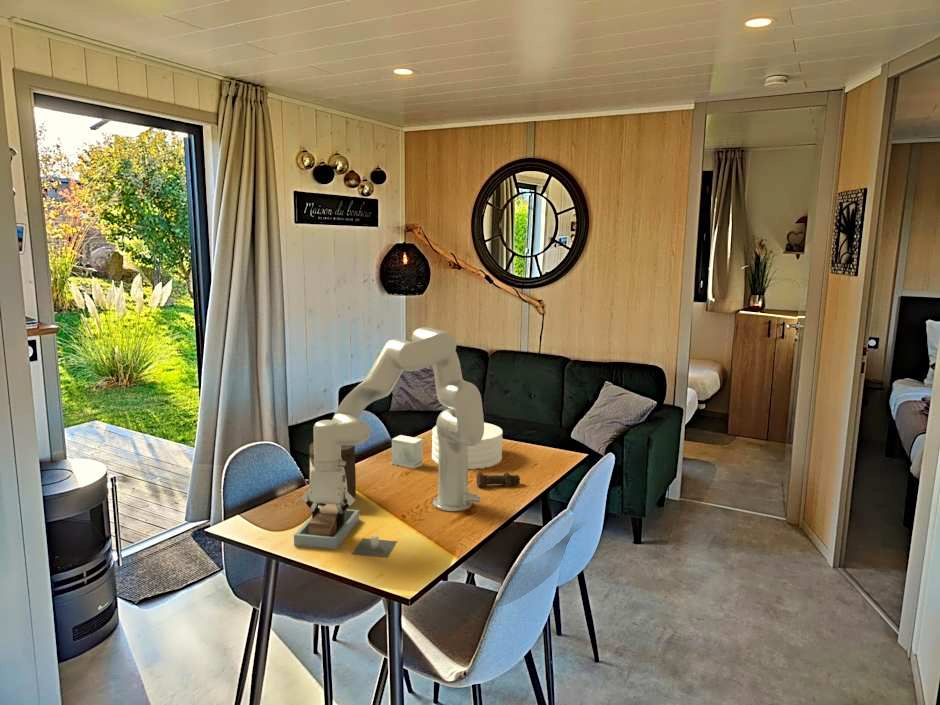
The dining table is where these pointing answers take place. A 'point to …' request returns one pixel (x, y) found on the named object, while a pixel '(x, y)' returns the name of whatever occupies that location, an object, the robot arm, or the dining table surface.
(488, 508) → the dining table surface
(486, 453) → the plate stack
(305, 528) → the tray
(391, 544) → the stud base
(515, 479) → the bolt
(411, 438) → the skincare box
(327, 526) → the brown rectangular block
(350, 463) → the wooden container
